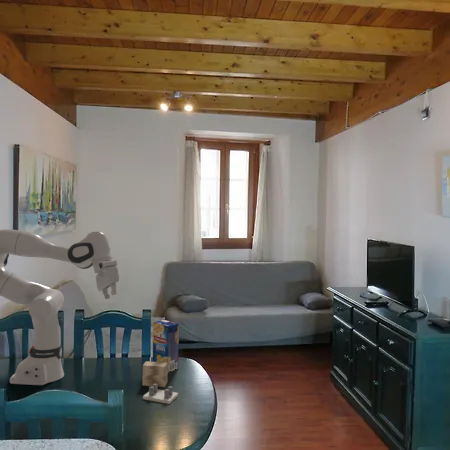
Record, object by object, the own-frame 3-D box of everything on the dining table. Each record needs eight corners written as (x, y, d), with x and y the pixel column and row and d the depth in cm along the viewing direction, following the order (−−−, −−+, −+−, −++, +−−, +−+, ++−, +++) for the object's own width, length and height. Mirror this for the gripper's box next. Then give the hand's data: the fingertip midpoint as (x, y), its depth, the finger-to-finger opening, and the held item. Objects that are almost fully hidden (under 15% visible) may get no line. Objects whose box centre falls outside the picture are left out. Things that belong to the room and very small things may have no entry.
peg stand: (142, 399, 175) (143, 388, 174) (152, 391, 182) (152, 381, 182) (169, 403, 171) (169, 393, 170) (178, 395, 178) (178, 385, 178)
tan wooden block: (142, 385, 188) (142, 365, 188) (145, 381, 193) (145, 361, 193) (164, 387, 187) (164, 366, 186) (167, 382, 192) (167, 362, 191)
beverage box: (162, 363, 215) (163, 319, 214) (178, 368, 208) (178, 323, 208) (152, 366, 210) (152, 322, 209) (168, 372, 203) (168, 326, 202)
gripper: (90, 273, 198) (97, 302, 195) (103, 262, 181) (111, 293, 179) (103, 270, 201) (110, 299, 198) (118, 259, 185) (125, 290, 182)
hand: (110, 296), depth 188 cm, fingers open, 8 cm apart
